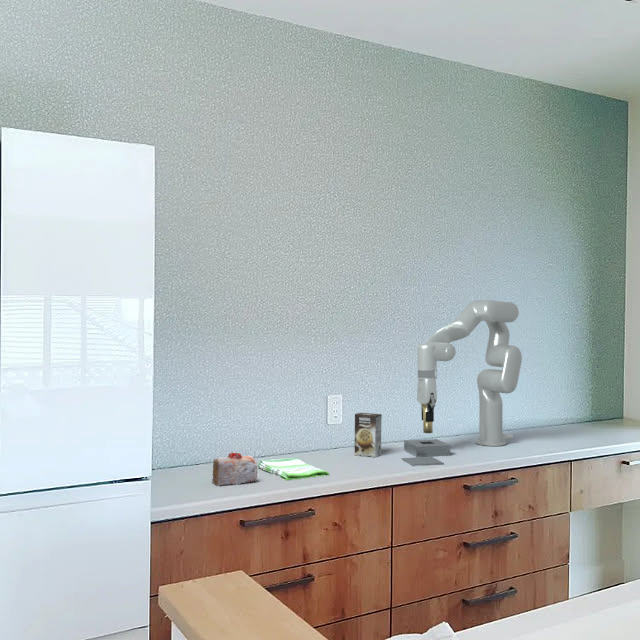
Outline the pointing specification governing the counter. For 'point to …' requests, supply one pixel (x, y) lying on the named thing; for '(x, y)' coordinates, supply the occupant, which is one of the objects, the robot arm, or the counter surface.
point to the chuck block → (427, 447)
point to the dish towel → (290, 468)
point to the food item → (234, 470)
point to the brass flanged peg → (426, 425)
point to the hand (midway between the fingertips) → (427, 420)
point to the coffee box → (368, 434)
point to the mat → (423, 461)
